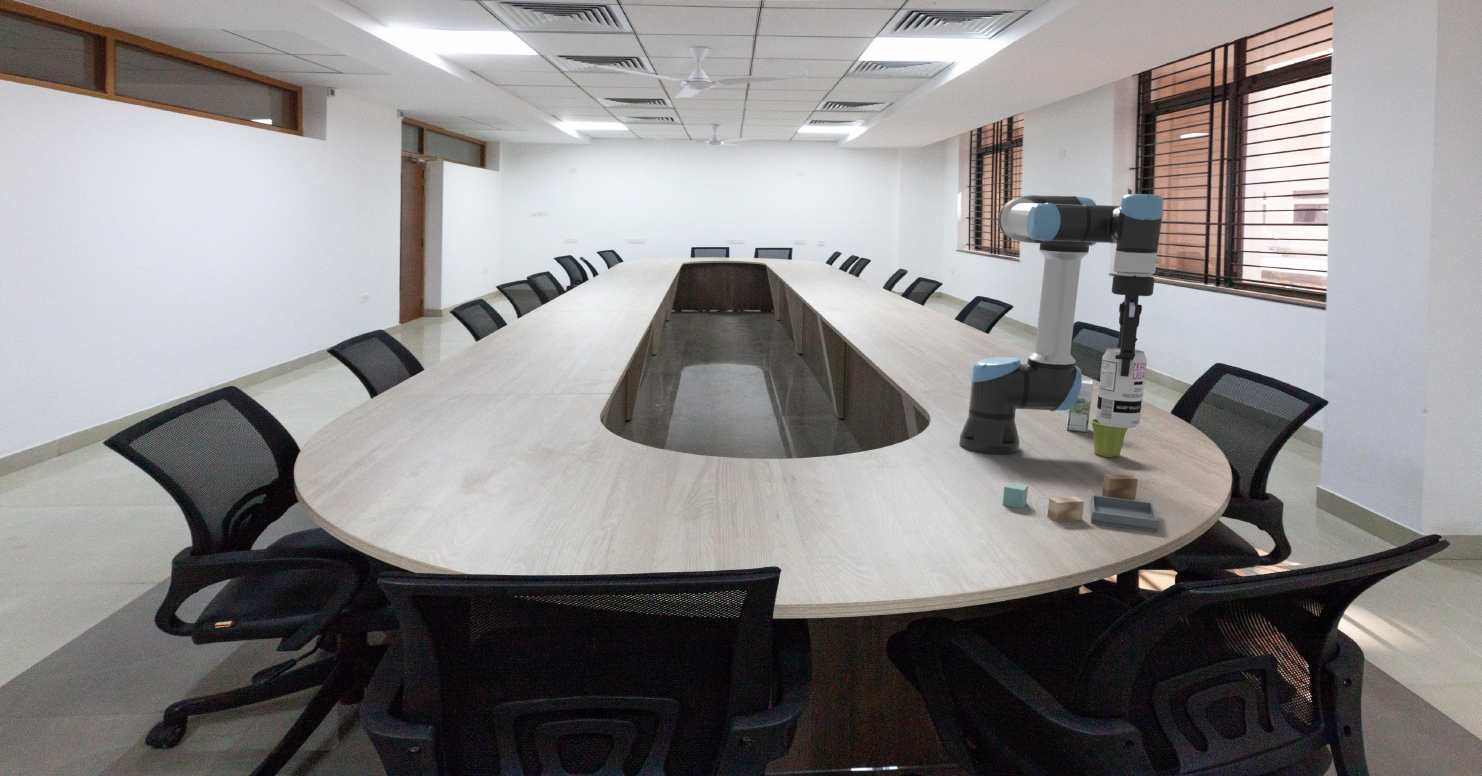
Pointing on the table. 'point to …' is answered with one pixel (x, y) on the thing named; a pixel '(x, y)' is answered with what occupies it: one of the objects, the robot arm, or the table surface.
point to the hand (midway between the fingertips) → (1121, 388)
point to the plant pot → (1107, 439)
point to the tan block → (1065, 508)
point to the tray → (1123, 513)
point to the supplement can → (1116, 405)
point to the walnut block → (1120, 486)
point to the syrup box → (1081, 409)
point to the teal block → (1015, 495)
